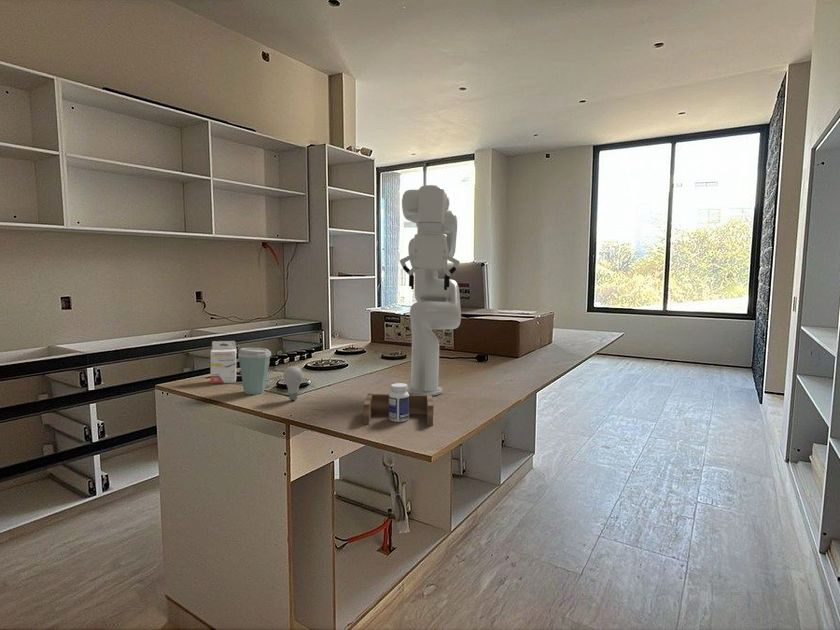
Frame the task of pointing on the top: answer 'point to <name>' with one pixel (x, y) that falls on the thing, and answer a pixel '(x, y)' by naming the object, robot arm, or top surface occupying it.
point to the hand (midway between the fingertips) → (428, 289)
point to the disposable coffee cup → (254, 369)
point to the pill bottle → (399, 403)
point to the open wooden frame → (381, 406)
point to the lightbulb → (293, 380)
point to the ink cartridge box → (223, 362)
